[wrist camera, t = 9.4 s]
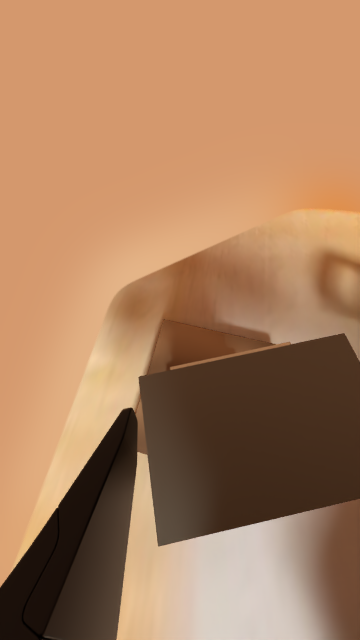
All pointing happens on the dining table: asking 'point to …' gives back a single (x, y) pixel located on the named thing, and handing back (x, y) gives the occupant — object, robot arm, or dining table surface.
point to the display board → (189, 354)
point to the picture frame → (252, 436)
